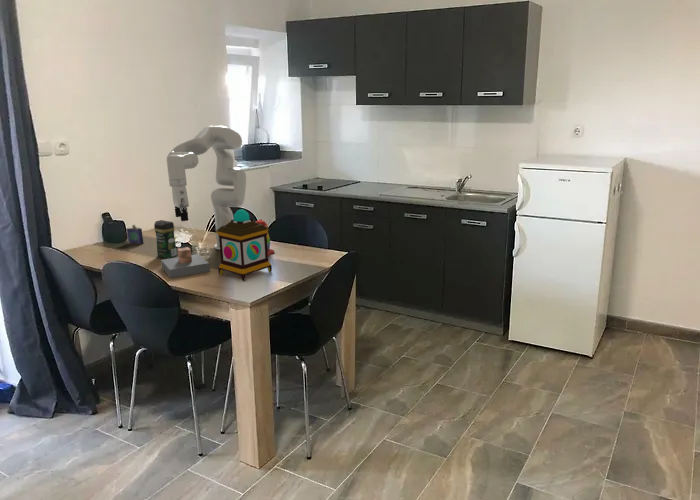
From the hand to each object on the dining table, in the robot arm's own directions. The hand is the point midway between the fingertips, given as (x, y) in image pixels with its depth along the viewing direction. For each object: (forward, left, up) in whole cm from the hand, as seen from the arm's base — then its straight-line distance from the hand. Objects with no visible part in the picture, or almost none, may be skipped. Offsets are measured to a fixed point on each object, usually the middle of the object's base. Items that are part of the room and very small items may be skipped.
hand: (182, 218), depth 269 cm
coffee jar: (+3, -26, -24) cm, 36 cm away
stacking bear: (-39, -2, -24) cm, 46 cm away
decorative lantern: (-21, +23, -24) cm, 39 cm away
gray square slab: (+1, +2, -24) cm, 24 cm away
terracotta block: (+1, +2, -20) cm, 20 cm away
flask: (+12, -61, -24) cm, 67 cm away
